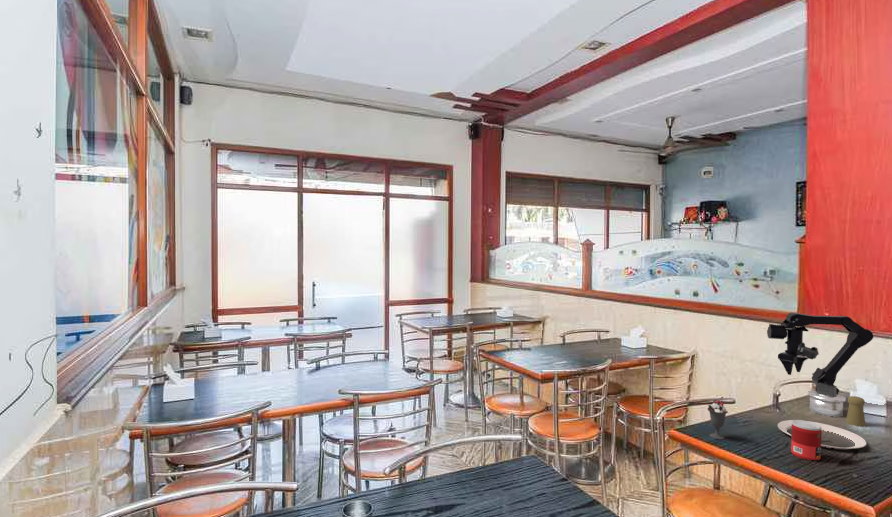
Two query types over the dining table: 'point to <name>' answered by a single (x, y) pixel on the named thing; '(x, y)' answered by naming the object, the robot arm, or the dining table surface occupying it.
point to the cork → (856, 411)
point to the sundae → (717, 418)
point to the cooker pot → (826, 407)
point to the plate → (855, 438)
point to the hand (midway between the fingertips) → (793, 373)
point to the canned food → (806, 440)
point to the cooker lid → (826, 393)
